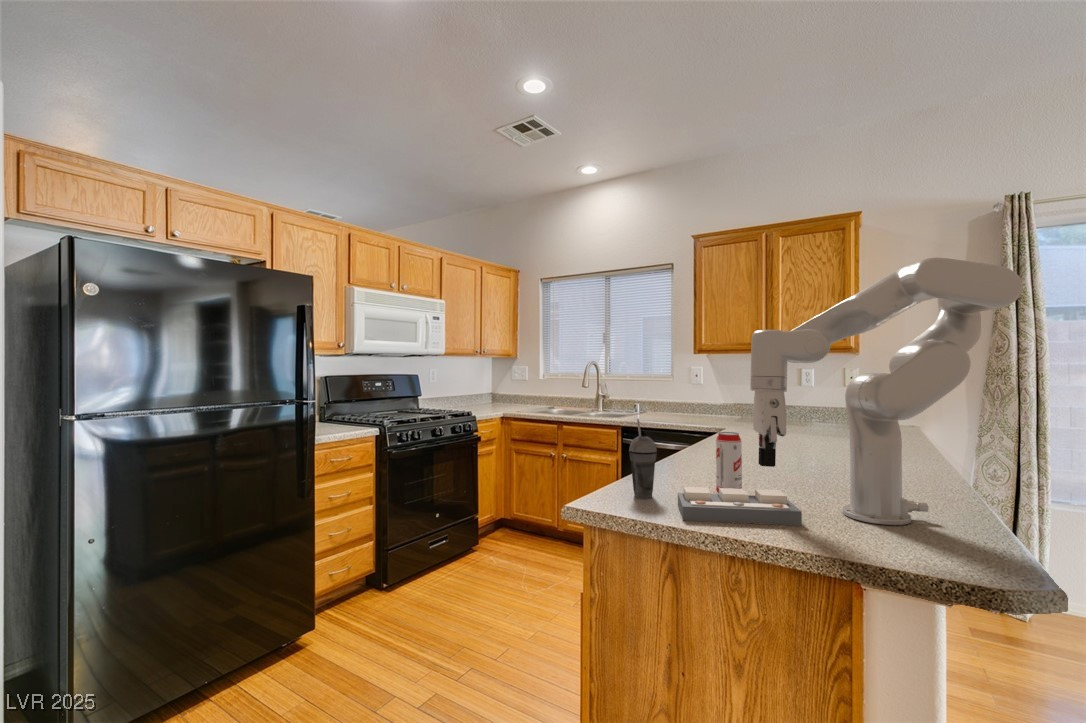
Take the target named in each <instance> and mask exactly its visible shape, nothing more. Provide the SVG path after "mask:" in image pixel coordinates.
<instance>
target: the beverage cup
mask: <svg viewBox="0 0 1086 723" xmlns="http://www.w3.org/2000/svg"><path fill="white" fill-rule="evenodd" d="M636 421H637V428H638V429H637V431H638V436H636V437H634V438H633V439H632V440H631V441H630V445H629V449H628V454H629V460H630V466H631V476H632V478H631V479H632V487H633V494H634V498H636V499H640V500H646V499H647V500H648V499H651V498H653V492H654V480H655V479H654V478H655V467H656V465H655V464H656V461H657V453H658V450H657V446H656V443H655V441H654V440H653V438H651V437H650V436H646V435H642V432H641V425H640V419H639V418H636Z"/></svg>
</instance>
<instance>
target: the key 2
mask: <svg viewBox="0 0 1086 723" xmlns="http://www.w3.org/2000/svg"><path fill="white" fill-rule="evenodd" d="M754 496H755V499H756V500H757V501H758V502H759V503H760V504H784V505H787V499H788V496H787V495H786V493H784V492H783V491H782V490H780V489H760V488H759V489H758V488H757V489H756V488H755V489H754Z"/></svg>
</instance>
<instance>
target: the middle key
mask: <svg viewBox="0 0 1086 723" xmlns="http://www.w3.org/2000/svg"><path fill="white" fill-rule="evenodd" d="M718 494H719V498H720V500H721V501H722V502H741V503H749V495H750V494H749V493H748V492H747V491H746V490H745V489H744V488H742V489H734V488H719V493H718Z"/></svg>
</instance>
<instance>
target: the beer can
mask: <svg viewBox="0 0 1086 723" xmlns="http://www.w3.org/2000/svg"><path fill="white" fill-rule="evenodd" d="M717 434H718V435H717V437H716V438H715V457H716V458H715V465H716V466H715V468H716V469H715V470H716V471H715V475H716V476H715V478H716V481H715V482H716V492H717V494H719V488H734V489H743V468H742V467H743V459H742V457H743V456H742V455H743V454H742V452H743V451H742V450H743V449H742V438H741V437H740V433H739V432H734V431H733V432H732V431H720V432H718V433H717Z"/></svg>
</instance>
